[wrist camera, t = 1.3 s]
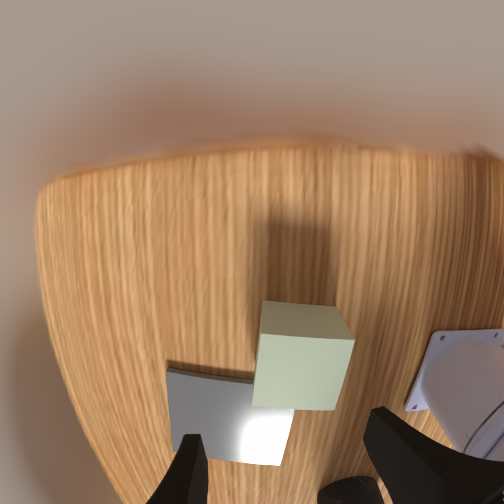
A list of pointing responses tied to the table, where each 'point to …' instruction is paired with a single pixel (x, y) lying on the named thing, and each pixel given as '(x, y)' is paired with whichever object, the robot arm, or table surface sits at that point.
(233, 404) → the coaster
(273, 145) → the table surface
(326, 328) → the cube
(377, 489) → the travel mug
